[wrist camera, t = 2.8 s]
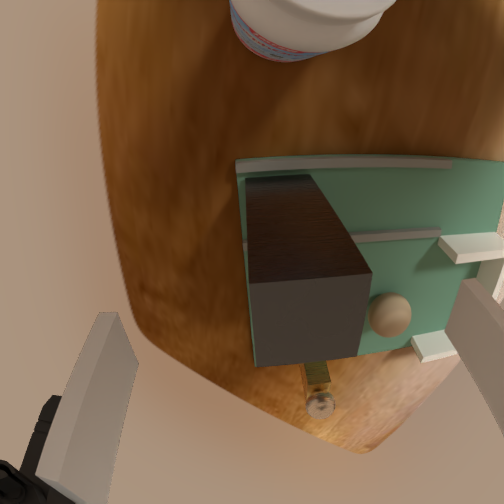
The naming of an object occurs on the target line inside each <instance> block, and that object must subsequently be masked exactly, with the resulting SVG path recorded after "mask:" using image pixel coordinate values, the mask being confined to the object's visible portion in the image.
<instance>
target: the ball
mask: <svg viewBox="0 0 504 504" xmlns="http://www.w3.org/2000/svg"><path fill="white" fill-rule="evenodd" d="M411 314H412V313H411V307H410V305H409V303H408V301H407V300H406V299H405V298H404V297H403V296H402V295H400V294H397V293H394V292H388V293H383V294H381V295H379V296H378V297H376V298H375V299H374V300H373V302H372V303H371V305H370V307H369V310H368V321H369V324H370V327H371V328H372V330H373V331H374V332H375V333H376V334H378V335H380V336H382V337H387V338H390V337H395V336H398V335H400V334H401V333H403V332H404V331H405V330H406V329H407V327H408V326H409V324H410V321H411Z"/></svg>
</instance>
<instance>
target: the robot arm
mask: <svg viewBox="0 0 504 504" xmlns="http://www.w3.org/2000/svg"><path fill="white" fill-rule="evenodd" d="M444 332H445V334H446V335H447V337H448V338H449V340H450V341H451V343H452V345H453V346H454V348H455V349H456V351H457V353H458V354H459V356H460V357H461V359H462V361H463V362H464V364H465V366H466V367H467V369H468V371H469V372H470V374H471V376H472V378H473V379H474V381H475V383H476V384H477V386H478V388H479V390H480V392H481V393H482V395H483V397H484V399H485V401H486V403H487V404H488V406H489V408H490V410H491V412H492V414H493V416H494V418H495V420H496V422H497V424H498V425H499V427H500V429H501V431H502V434H503V436H504V310H503V309H502V308H501V306H500V305H499V304H498V303H497V302H496V300H495V299H494V298H493V297H492V296H491V295H490V294H489V292H488V291H487V290H486V289H485V288H484V287H483V286H482V285H481V284H480V282H479V281H478V280H477V279H476V278H470V279H464V280H462V281H461V284H460V287H459V290H458V294H457V297H456V300H455V303H454V306H453V308H452V311H451V314H450V317H449V320H448V322H447V325H446V328H445V330H444ZM138 364H139V363H138V361H137V359H136V356H135V354H134V352H133V350H132V347H131V345H130V342H129V340H128V338H127V335H126V333H125V330H124V328H123V325H122V323H121V320H120V318H119V315H118V313H117V312H107V313H106V312H103V313H99V314H98V317H97V319H96V320H95V322H94V325H93V327H92V329H91V331H90V333H89V335H88V338H87V340H86V342H85V344H84V346H83V349H82V351H81V353H80V355H79V357H78V360H77V362H76V364H75V367H74V369H73V371H72V374H71V376H70V378H69V381H68V383H67V386H66V389H65V391H64V393H63V396H56V395H52V397H51V398H50V399H49V400H48V401H47V402H46V404H45V405H44V406H43V408H42V410H41V413H40V415H39V418H38V422H37V423H36V426H35V428H34V432H33V434H32V436H31V439H30V442H29V445H28V447H27V451H26V453H25V456H24V459H23V462H22V465H21V468H20V470H19V471H18V470H17V469H15V468H14V467H13V466H12V465H11V464H9V463H8V462H7V461H4V460H0V504H107V502H108V495H109V491H110V485H111V480H112V474H113V470H114V464H115V460H116V455H117V450H118V446H119V441H120V437H121V432H122V428H123V424H124V419H125V415H126V411H127V407H128V403H129V399H130V395H131V390H132V387H133V383H134V379H135V375H136V372H137V368H138Z"/></svg>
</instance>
